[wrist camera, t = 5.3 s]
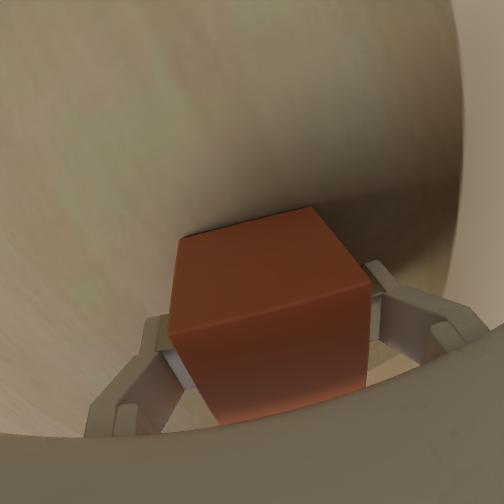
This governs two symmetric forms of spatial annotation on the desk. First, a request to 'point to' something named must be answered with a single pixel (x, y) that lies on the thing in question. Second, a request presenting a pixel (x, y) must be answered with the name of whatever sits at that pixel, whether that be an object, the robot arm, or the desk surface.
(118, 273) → the desk surface
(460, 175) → the desk surface
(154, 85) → the desk surface
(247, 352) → the block
